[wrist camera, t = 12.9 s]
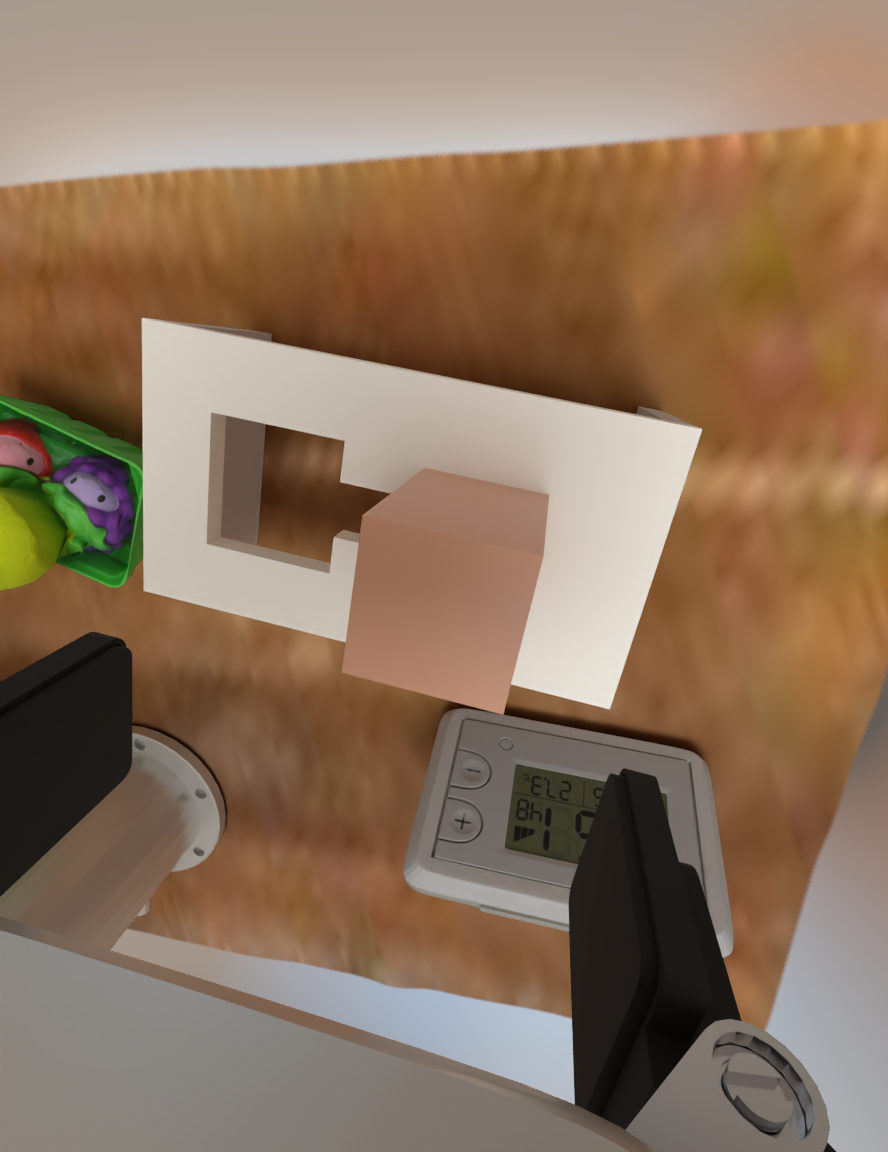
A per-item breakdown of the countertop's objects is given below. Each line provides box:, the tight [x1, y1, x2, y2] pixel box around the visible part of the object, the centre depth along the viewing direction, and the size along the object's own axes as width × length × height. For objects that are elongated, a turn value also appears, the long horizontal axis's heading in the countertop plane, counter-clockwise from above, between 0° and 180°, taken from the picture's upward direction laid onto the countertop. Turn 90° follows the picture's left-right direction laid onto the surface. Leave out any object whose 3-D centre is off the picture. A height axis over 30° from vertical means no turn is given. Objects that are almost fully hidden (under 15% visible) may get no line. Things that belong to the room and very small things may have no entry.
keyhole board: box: [142, 318, 702, 709], centre depth 29 cm, size 12×22×9 cm, turn 80°
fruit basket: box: [0, 395, 143, 590], centre depth 32 cm, size 11×9×11 cm
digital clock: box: [404, 708, 733, 958], centre depth 33 cm, size 16×9×11 cm, turn 73°
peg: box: [342, 468, 549, 715], centre depth 22 cm, size 5×5×11 cm
